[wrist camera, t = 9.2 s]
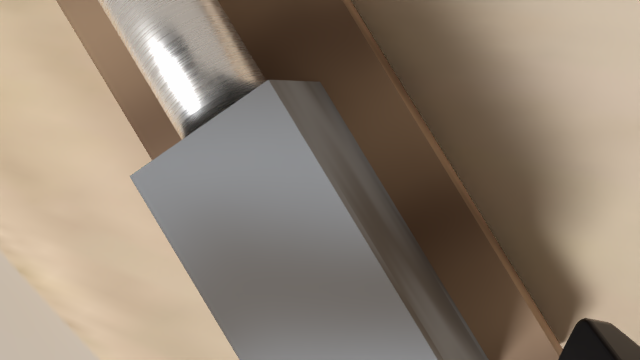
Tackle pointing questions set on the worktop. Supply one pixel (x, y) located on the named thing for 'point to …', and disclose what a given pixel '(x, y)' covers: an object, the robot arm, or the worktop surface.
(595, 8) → the worktop surface
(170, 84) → the slip tube
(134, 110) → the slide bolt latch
